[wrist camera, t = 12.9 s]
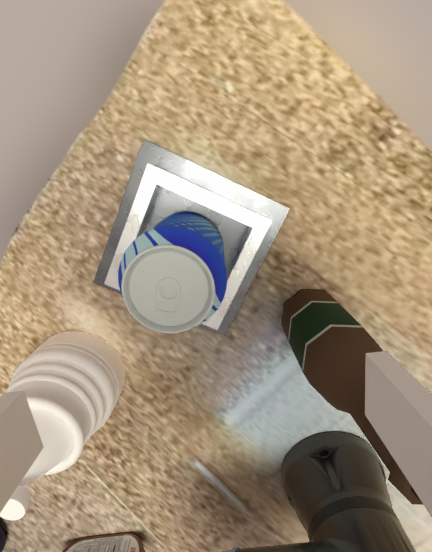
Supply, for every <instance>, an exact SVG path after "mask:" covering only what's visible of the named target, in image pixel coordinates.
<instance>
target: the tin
mask: <svg viewBox="0 0 432 552" xmlns="http://www.w3.org/2000/svg"><path fill="white" fill-rule="evenodd" d="M63 552H145V550H144V547H143V544H142V542H141V540H140V539H139V537H138V536H136V535H135V534H132V533H119V534H109V535H100V536H91V537H84V538H81V539H78V540H76V541H75V542H73V543H71V544H70V545H69V546H68V547H67V548H66V549H65V550H64V551H63Z"/></svg>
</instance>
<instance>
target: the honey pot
mask: <svg viewBox="0 0 432 552" xmlns="http://www.w3.org/2000/svg"><path fill="white" fill-rule="evenodd" d="M125 379H126V378H125V367H124V364H123V362H122V359H121V357H120V356H119V354H118V353H117V352H116V350H115V349H114V348H113V347H112V346H111V345H110V344H109V343H107V342H106V341H105V340H103V339H101V338H99V337H97V336H95V335H93V334H89V333H86V332H82V331H67V332H62V333H58V334H56V335H54V336H52V337H50V338H48V339H47V340H45V341H44V342H43V343H42V344H41V345H40V346H39V347H38V348H37V349H36V350H35V351H34V352H33V353H32V354H30V355H29V356H28V357H27V358H26V359H25V360H24V361H23V362H22V363H21V364H20V365H19V366H18V367H17V369H16V370H15V372H14V374H13V376H12V378H11V381H10V385H9V387H8V388H7V390H6V392H15V391H24V393H25V395H26V398H27V401H28V404H29V407H30V410H31V412H32V415H33V418H34V421H35V424H36V426H37V429H38V432H39V435H40V438H41V441H42V443H43V446H44V448H43V449H42V451H41V452H40V454H39V455H38V457H37V458H36V460H35V461H34V463H33V464H32V466H31V467H30V469H29V470H28V472H27V473H26V475H25V476H24V478H23V479H22V481H21V482H20V484H19V485H18V487H17V488H16V490H15V491H14V493H13V494H12V496H11V497H10V499H9V501H8V502H7V504H6V505H5V507H4V508H3V510H2V511H1V513H0V517H2V518H4V519H7V520H18V519H20V518H22V517H23V516H24V514H25V512H26V510H27V508H28V505H29V501H30V493H29V490H28V488H27V487H25V486H23V485H25V484H28V483H30V482H32V481H34V480H35V479H37V478H39V477H41V476H42V475H49V474H55V473H58V472H61V471H63V470H65V469H67V468H69V467H70V466H71V465H72V464H74V463H75V462H76V461H77V459H78V458H79V456H80V455H81V453H82V450H83V446H84V443H85V442H86V441H88V440H89V438H90V437H91V435H93V434H94V433H95V432H96V431H97V430H98V429H99V428H100V427H102V426H103V425H104V424H105V423H106V421H107V420H108V418H109V417H110V415H111V413H112V411H113V409H114V407H115V405H116V403H117V401H118V398H119V396H120V394H121V392H122V389H123V386H124V383H125ZM6 392H5V393H6Z"/></svg>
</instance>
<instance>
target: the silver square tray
mask: <svg viewBox="0 0 432 552" xmlns="http://www.w3.org/2000/svg"><path fill="white" fill-rule="evenodd" d="M289 209H290V208H287V207H285V206H283V205H281V204H279V203H277V202H275V201H273V200H271V199H269V198H266V197H264V196H262V195H260V194H258V193H256V192H254V191H252V190H250V189H247V188H245V187H243V186H241V185H239V184H237V183H235V182H233V181H231V180H229V179H226V178H224V177H222V176H220V175H218V174H216V173H214V172H212V171H210V170H207V169H205V168H203V167H201V166H199V165H197V164H195V163H193V162H191V161H189V160H186V159H184V158H182V157H180V156H178V155H176V154H174V153H172V152H170V151H167V150H165V149H163V148H161V147H159V146H157V145H155V144H153V143H151V142H149V141H146V140H143V143H142V146H141V149H140V151H139V154H138V157H137V160H136V163H135V166H134V168H133V171H132V174H131V177H130V180H129V183H128V186H127V188H126V191H125V194H124V197H123V200H122V203H121V206H120V208H119V211H118V214H117V217H116V220H115V223H114V226H113V228H112V231H111V234H110V237H109V240H108V243H107V245H106V248H105V251H104V254H103V257H102V260H101V263H100V265H99V268H98V271H97V274H96V277H95V280H94V283H95V284H98V285H100V286H103V287H105V288H108V289H110V290H113V291H115V292H118V293H120V294H121V292H120V288H119V283H118V271H119V265H120V262H121V259H122V257H123V255H124V253H125V251H126V249H127V248H128V247H129V245H130V244H131V243H132V242H133V241H134V240H135V239H136V238H138V237H139V236H140V235H142V234H143V233H145V232H146V231H147V230H149V229H150V228H152V227H153V226H155V225H156V224H157V223H159V222H160V221H162V220H163V219H165V218H166V217H168V216H170V215H172V214H174V213H178V212H194V213H198V214H200V215H203V216H204V217H206V218H208V219H209V220H210V221H211V222H212V223H213V224H214V225H215V226H216V227H217V229H218V230H219V232H220V234H221V237H222V241H223V247H224V256H225V264H226V272H227V287H226V292H225V296H224V299H223V301H222V303H221V305H220V306H219V308H218V309H217V311H216V312H215V313H214V314H213V315H212V316H211V317H210V318H209V319H208V320H206V321H205V322H203V323H202V324H200V325H199V326H201V327H204V328H206V329H209V330H211V331H214V332H216V333H219V334H221V335H223V336H225V335H226V333H227V331H228V329H229V327H230V325H231V323H232V321H233V319H234V317H235V315H236V313H237V311H238V309H239V307H240V305H241V304H242V302H243V300H244V298H245V296H246V294H247V292H248V290H249V288H250V286H251V284H252V282H253V280H254V278H255V276H256V274H257V272H258V270H259V268H260V266H261V264H262V262H263V260H264V258H265V256H266V255H267V253H268V251H269V249H270V247H271V245H272V243H273V241H274V239H275V237H276V235H277V233H278V231H279V229H280V227H281V225H282V223H283V221H284V219H285V217H286V215H287V213H288V211H289Z"/></svg>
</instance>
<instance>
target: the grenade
mask: <svg viewBox="0 0 432 552" xmlns="http://www.w3.org/2000/svg"><path fill="white" fill-rule="evenodd" d="M6 537H7V533H6V532H3V529H2V528H1V526H0V552H2V550H3V549H4V546H5V539H6Z"/></svg>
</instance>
